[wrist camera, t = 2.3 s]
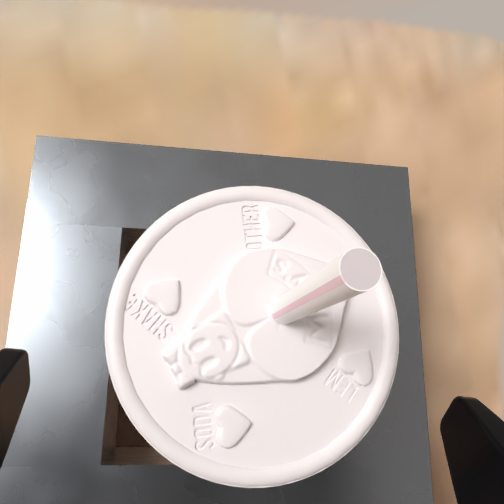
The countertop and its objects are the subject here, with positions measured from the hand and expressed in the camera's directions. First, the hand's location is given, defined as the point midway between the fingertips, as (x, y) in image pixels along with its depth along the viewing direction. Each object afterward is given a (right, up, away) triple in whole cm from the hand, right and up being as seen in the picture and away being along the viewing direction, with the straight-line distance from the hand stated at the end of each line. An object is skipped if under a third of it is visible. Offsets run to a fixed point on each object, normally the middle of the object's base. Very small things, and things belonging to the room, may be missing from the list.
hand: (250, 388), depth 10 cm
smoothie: (-1, -1, +9) cm, 10 cm away
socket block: (-1, -1, +9) cm, 9 cm away
